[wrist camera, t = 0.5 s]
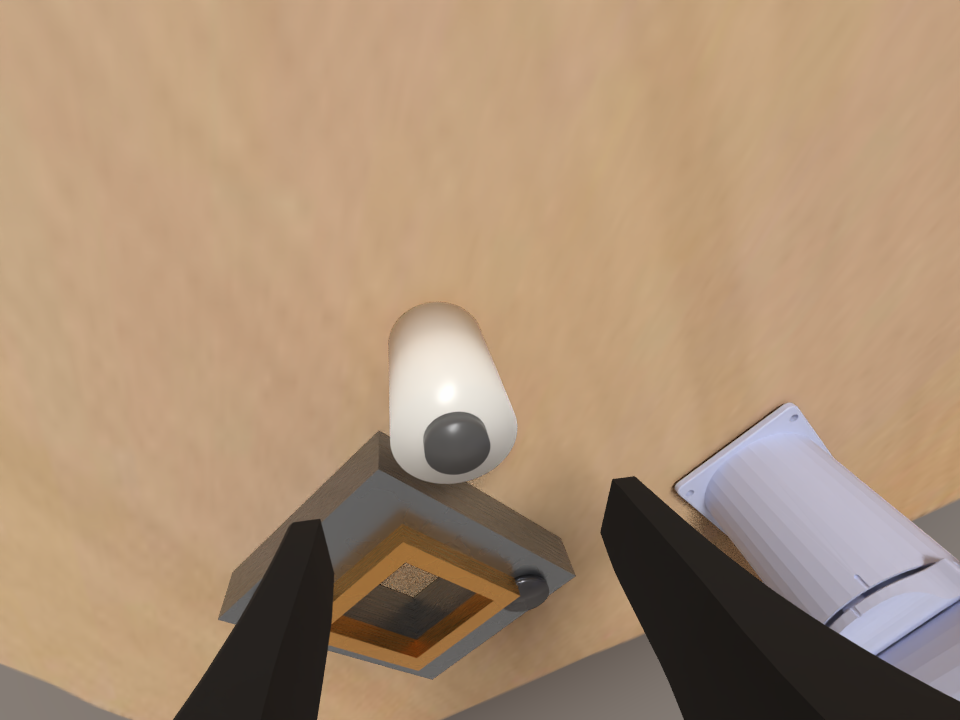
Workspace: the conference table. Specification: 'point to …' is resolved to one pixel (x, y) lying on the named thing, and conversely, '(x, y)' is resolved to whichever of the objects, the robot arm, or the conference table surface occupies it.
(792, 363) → the conference table surface
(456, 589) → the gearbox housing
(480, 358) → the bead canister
